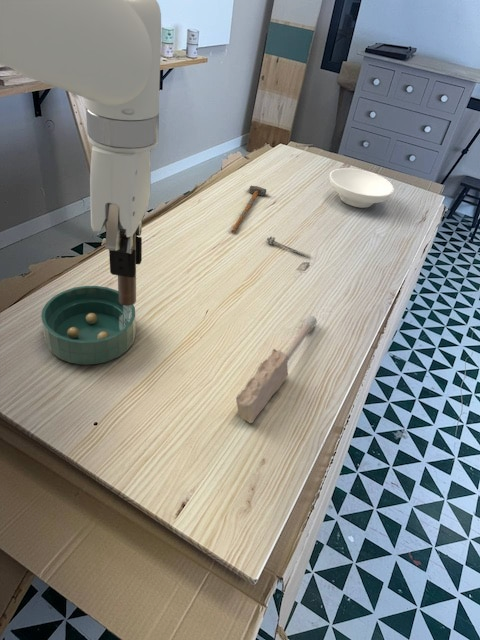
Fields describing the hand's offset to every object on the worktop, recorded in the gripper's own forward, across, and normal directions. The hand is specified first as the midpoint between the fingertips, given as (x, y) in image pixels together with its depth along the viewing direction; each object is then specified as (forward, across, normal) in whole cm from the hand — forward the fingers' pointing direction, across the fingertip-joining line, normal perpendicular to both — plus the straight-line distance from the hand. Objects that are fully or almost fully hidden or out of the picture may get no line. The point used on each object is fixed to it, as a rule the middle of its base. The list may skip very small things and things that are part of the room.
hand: (126, 267), depth 62 cm
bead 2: (+21, -12, -10) cm, 26 cm away
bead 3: (+21, -8, -6) cm, 23 cm away
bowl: (+23, -85, +48) cm, 100 cm away
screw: (+23, -50, +26) cm, 61 cm away
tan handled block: (+23, -9, +25) cm, 35 cm away
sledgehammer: (+23, -67, +15) cm, 72 cm away
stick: (+6, 0, 0) cm, 6 cm away
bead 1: (+21, -8, -12) cm, 25 cm away
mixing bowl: (+22, -9, -9) cm, 26 cm away
